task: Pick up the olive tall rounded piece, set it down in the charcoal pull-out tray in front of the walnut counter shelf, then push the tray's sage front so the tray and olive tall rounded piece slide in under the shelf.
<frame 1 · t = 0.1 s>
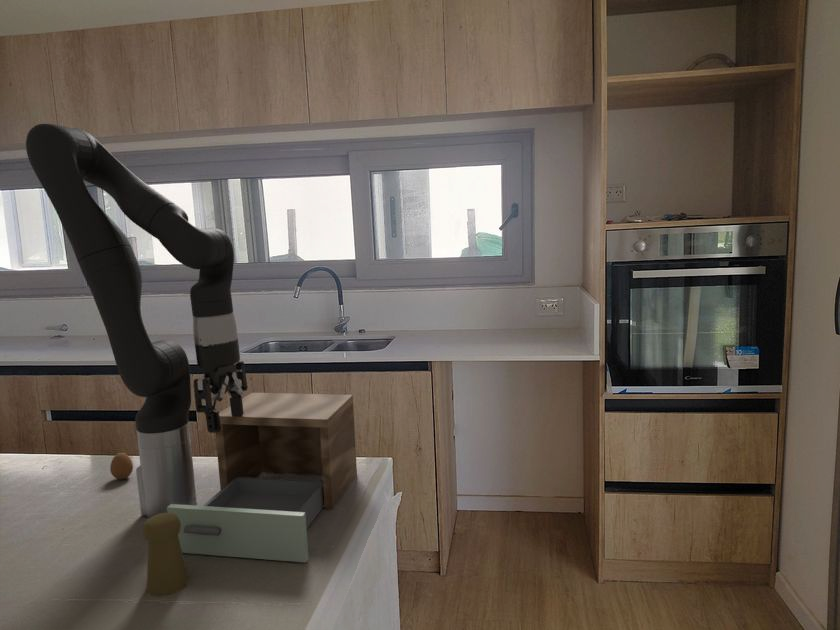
hand: (226, 423, 109), 18 cm above the kitchen island, tool pointing down, fingers open, 8 cm apart
olive tall rounded piece: (168, 584, 90), on the kitchen island
drawer: (262, 505, 106), point 4 cm above the kitchen island, slide at 11.0 cm
egg: (123, 479, 130), on the kitchen island
cabinet: (292, 487, 122), on the kitchen island
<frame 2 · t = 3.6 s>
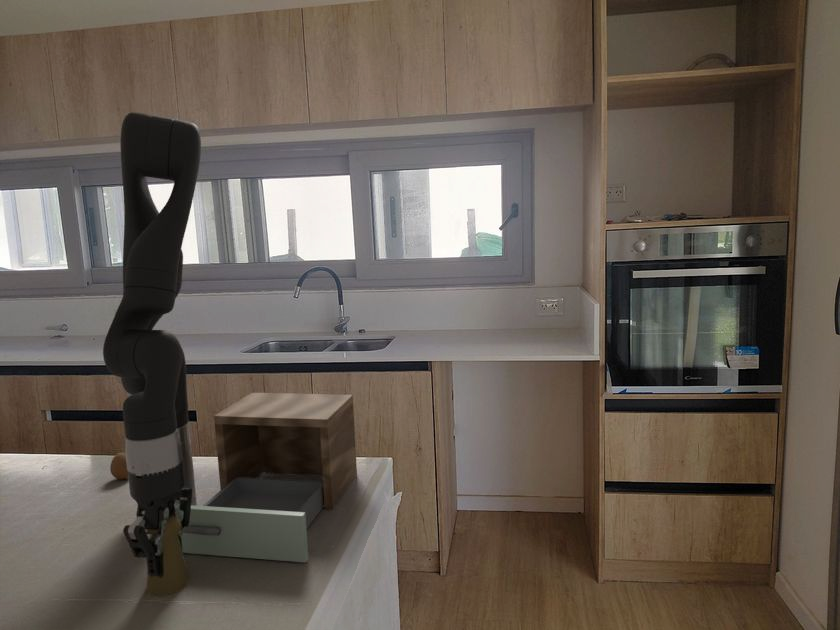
hand: (166, 567, 90), 3 cm above the kitchen island, tool pointing down, fingers closed on olive tall rounded piece, 4 cm apart
olive tall rounded piece: (168, 584, 90), on the kitchen island, touching gripper
everything else where it was.
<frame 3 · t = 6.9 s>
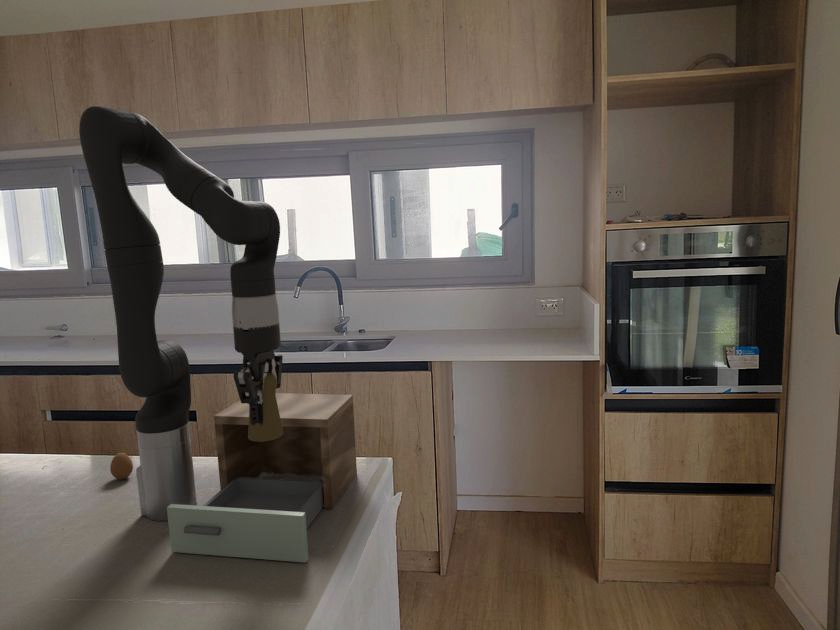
hand: (263, 419, 101), 21 cm above the kitchen island, tool pointing down, fingers closed on olive tall rounded piece, 4 cm apart
olive tall rounded piece: (265, 436, 101), point 18 cm above the kitchen island, touching gripper
everything else where it was.
when the fingers open (6 cm above the kitchen island, at t = 10.3 s): olive tall rounded piece stays where it is, resting on drawer.
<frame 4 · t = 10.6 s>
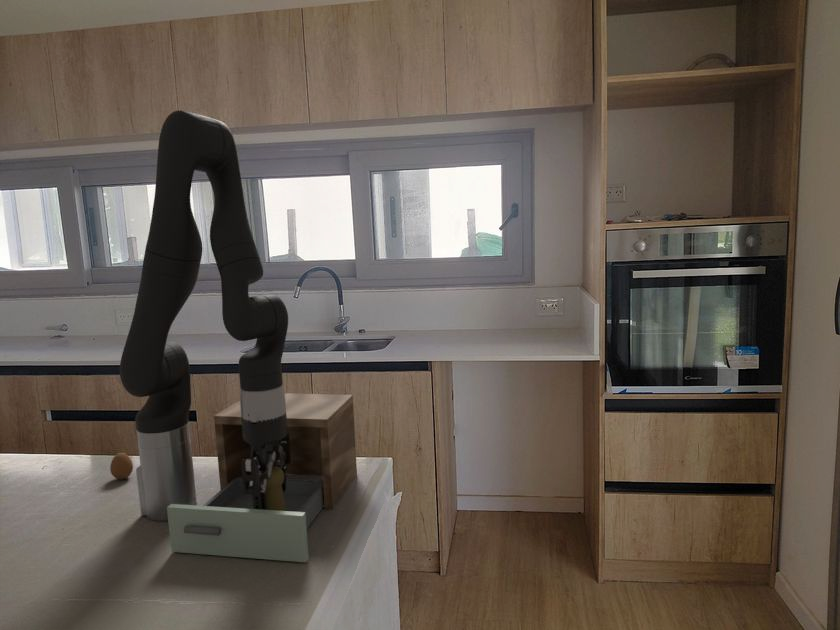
hand: (270, 501, 103), 6 cm above the kitchen island, tool pointing down, fingers open, 7 cm apart
olive tall rounded piece: (272, 528, 104), point 1 cm above the kitchen island, touching drawer
drawer: (262, 505, 106), point 4 cm above the kitchen island, slide at 11.0 cm, touching olive tall rounded piece
everything else where it was.
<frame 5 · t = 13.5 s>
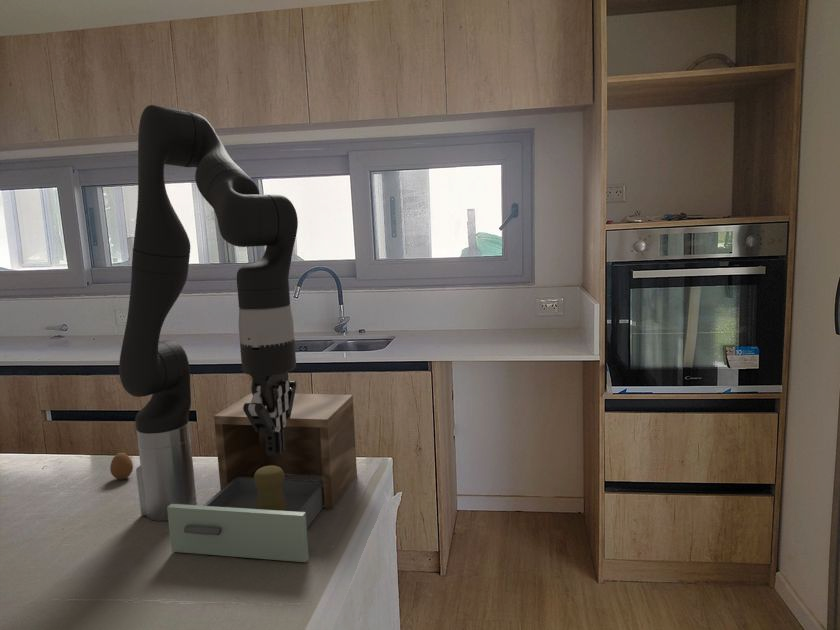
hand: (276, 453, 86), 21 cm above the kitchen island, tool pointing down, fingers closed
nothing on the kitchen island moved.
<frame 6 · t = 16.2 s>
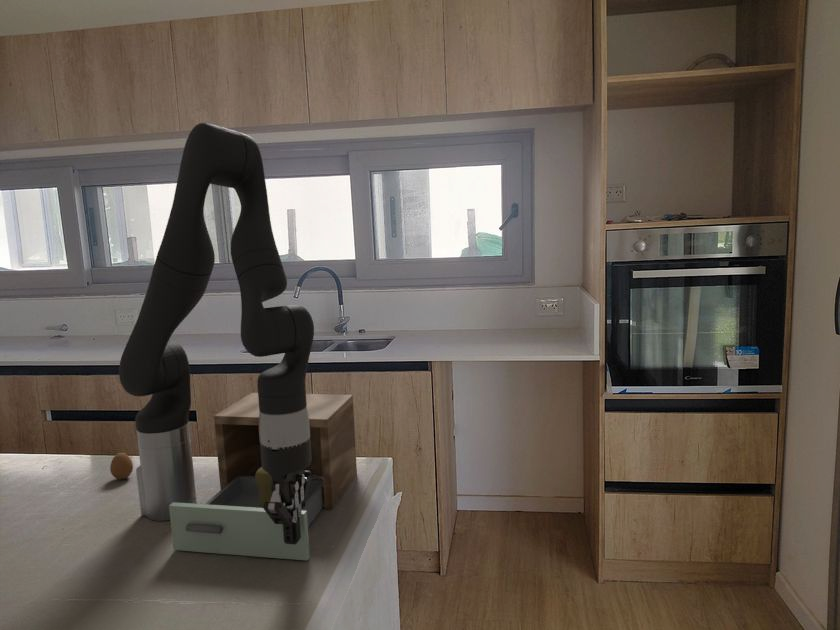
hand: (292, 541, 92), 5 cm above the kitchen island, tool pointing down, fingers closed
drawer: (263, 504, 106), point 4 cm above the kitchen island, slide at 10.4 cm, touching gripper, olive tall rounded piece
everything else where it was.
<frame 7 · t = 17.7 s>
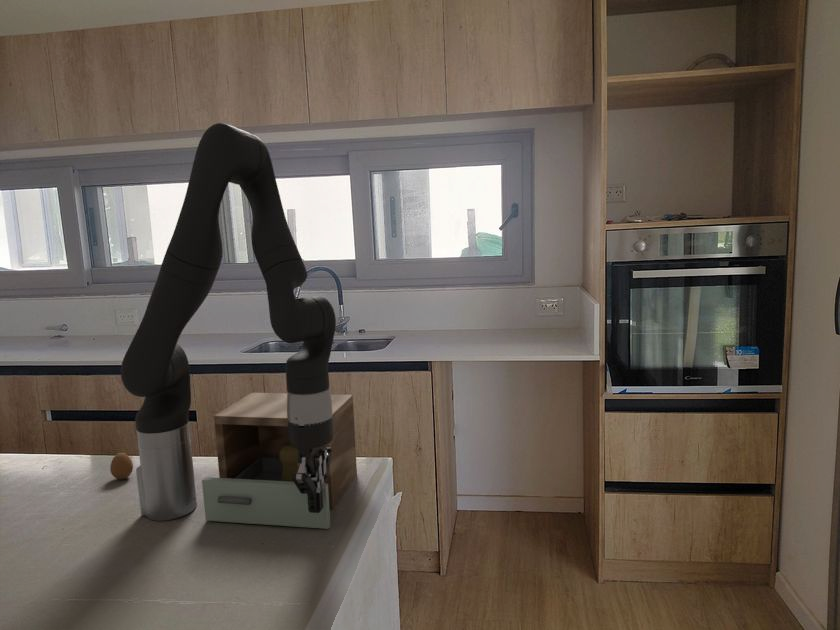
hand: (315, 510, 102), 5 cm above the kitchen island, tool pointing down, fingers closed
olive tall rounded piece: (296, 500, 114), point 1 cm above the kitchen island, touching drawer
drawer: (286, 480, 116), point 4 cm above the kitchen island, slide at 0.3 cm, touching gripper, olive tall rounded piece
everything else where it was.
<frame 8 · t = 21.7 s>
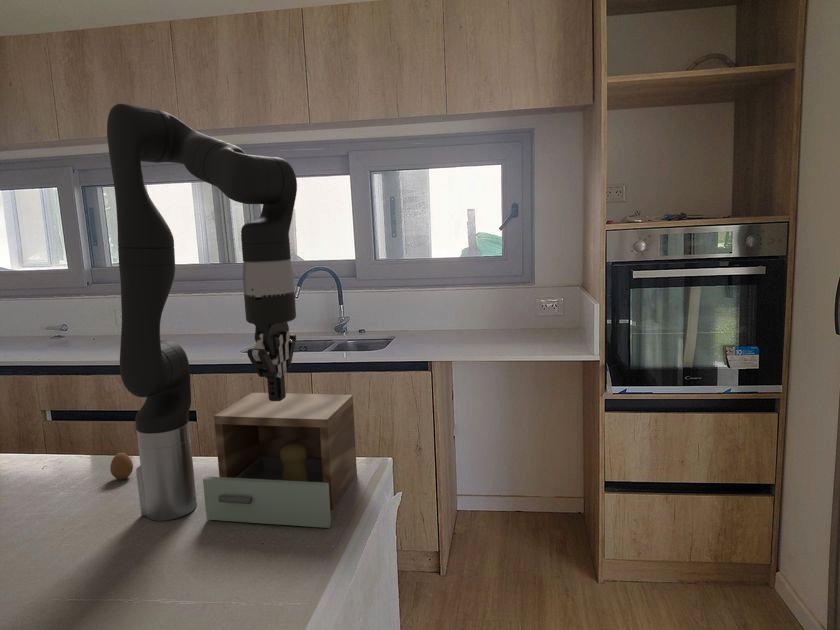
hand: (277, 399, 92), 27 cm above the kitchen island, tool pointing down, fingers closed
drawer: (287, 479, 116), point 4 cm above the kitchen island, slide at 0.0 cm, touching olive tall rounded piece
everything else where it was.
at the end: drawer slide at 0.0 cm; olive tall rounded piece inside the target area on the cabinet (6.7 cm from its centre), point 1.1 cm above the cabinet's base; olive tall rounded piece tilted 0° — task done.
